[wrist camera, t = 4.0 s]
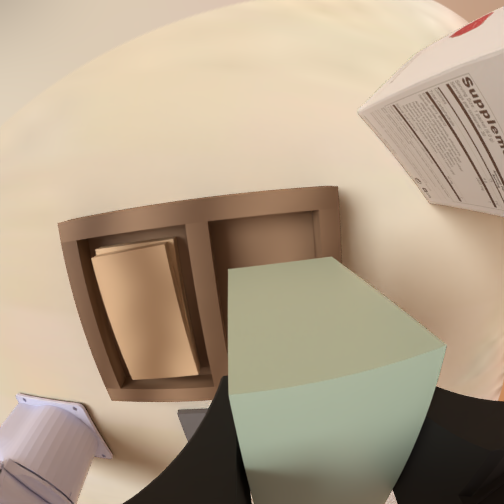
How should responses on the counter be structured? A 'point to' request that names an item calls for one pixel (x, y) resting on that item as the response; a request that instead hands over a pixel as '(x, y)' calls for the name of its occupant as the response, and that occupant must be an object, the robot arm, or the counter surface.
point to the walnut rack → (197, 270)
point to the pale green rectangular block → (324, 382)
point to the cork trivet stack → (148, 307)
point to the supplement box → (449, 117)
